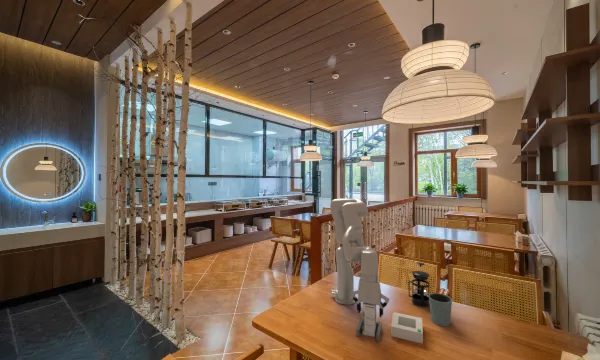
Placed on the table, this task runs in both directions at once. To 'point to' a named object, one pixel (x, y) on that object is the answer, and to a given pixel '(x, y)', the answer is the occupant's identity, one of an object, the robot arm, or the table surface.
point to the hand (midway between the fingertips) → (369, 313)
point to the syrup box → (369, 319)
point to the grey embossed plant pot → (440, 308)
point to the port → (407, 327)
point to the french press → (420, 288)
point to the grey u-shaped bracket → (378, 327)
